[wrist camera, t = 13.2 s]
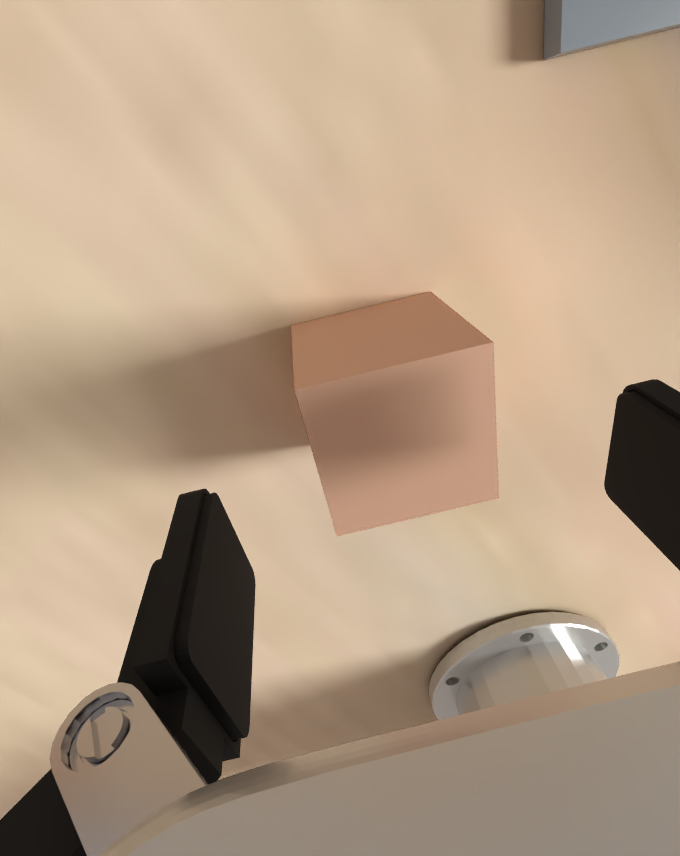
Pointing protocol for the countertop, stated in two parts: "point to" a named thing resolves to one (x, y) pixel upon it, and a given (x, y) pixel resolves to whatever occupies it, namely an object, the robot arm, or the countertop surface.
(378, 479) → the salmon pink cube
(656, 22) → the baseplate
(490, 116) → the countertop surface
